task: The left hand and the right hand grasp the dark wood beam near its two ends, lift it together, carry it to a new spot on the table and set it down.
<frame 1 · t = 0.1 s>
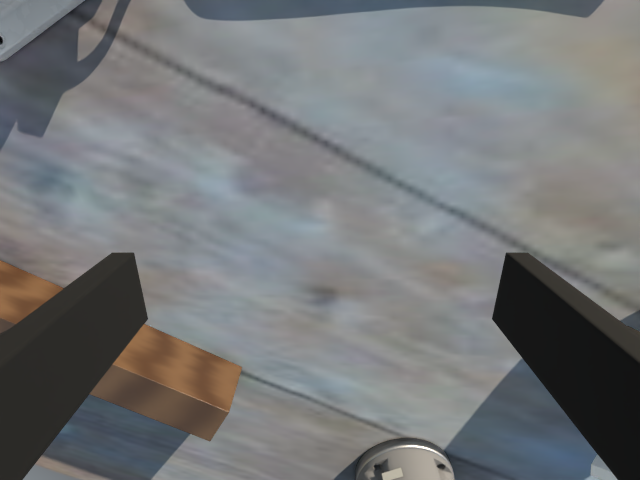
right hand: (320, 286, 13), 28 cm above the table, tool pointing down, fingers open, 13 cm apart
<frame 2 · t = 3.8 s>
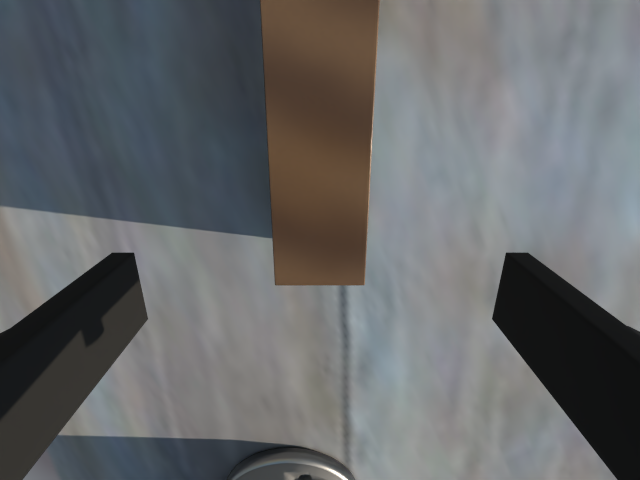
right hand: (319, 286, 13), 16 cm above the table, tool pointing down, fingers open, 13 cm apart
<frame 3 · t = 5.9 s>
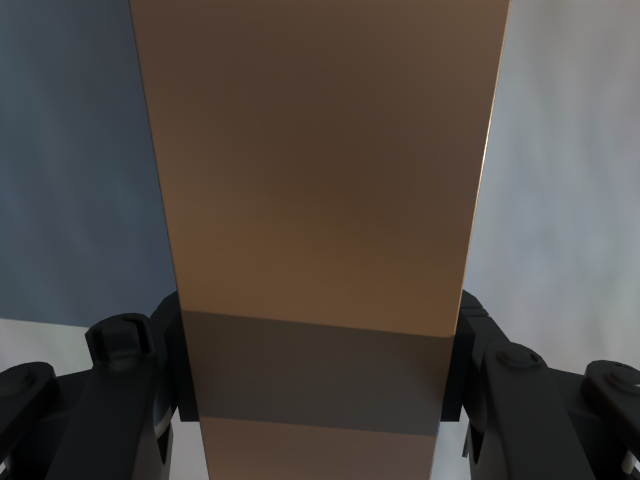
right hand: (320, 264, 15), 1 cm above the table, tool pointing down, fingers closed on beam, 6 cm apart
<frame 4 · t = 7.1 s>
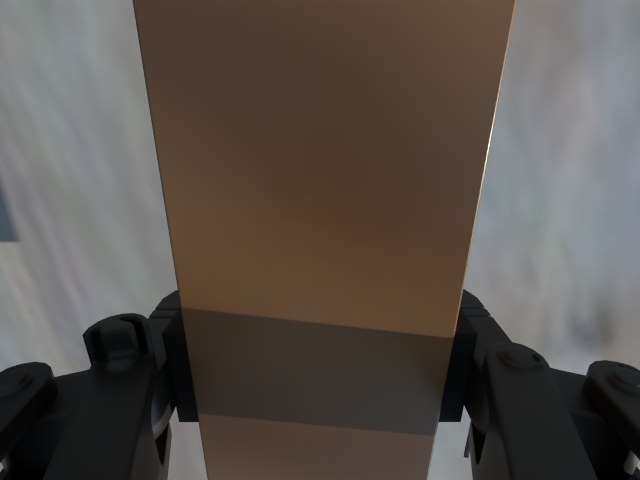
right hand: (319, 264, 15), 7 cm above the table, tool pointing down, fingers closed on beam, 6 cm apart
when the right hand's fingers open (2 cm above the table, at t = 10.2 s): beam stays where it is, held by the left hand.
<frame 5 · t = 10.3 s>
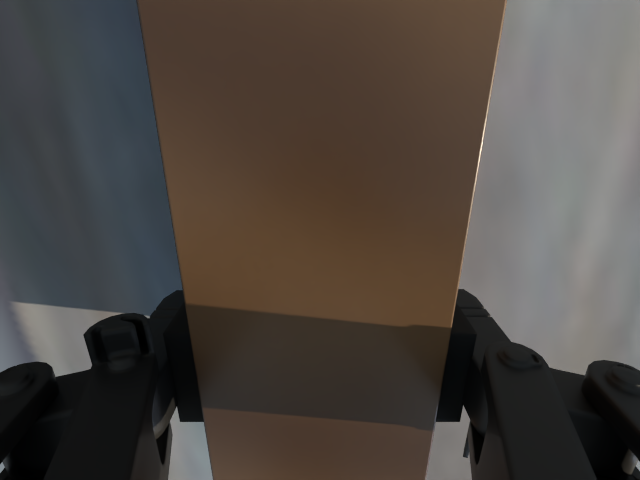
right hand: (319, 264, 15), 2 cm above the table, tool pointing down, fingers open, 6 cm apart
when the left hand's fingers open (4 cm above the table, at t = 10.5 s): beam stays where it is, on the table.
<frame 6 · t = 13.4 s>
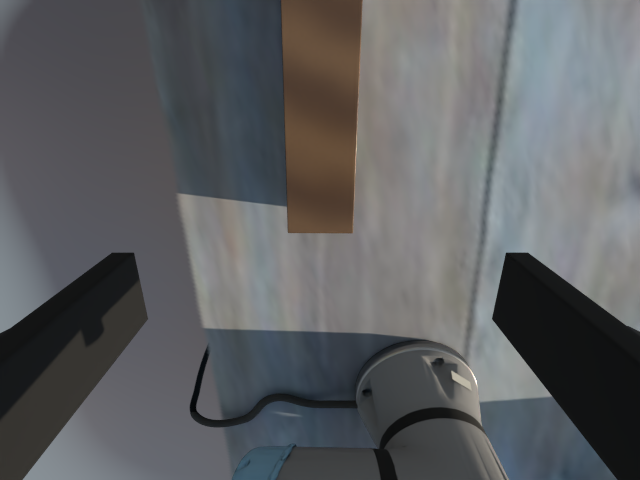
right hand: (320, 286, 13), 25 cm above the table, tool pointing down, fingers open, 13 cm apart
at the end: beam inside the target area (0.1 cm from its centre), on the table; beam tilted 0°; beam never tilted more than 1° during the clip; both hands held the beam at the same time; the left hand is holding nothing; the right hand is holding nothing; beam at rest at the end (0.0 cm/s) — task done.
